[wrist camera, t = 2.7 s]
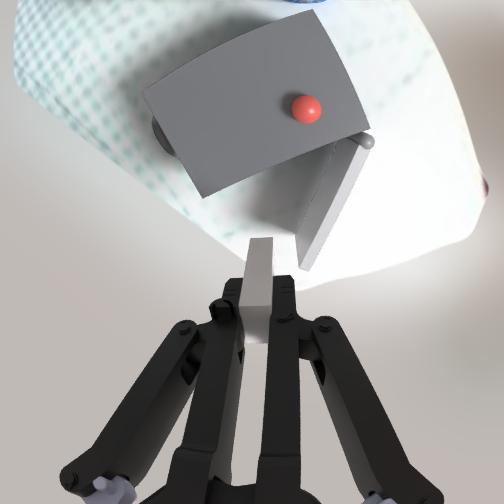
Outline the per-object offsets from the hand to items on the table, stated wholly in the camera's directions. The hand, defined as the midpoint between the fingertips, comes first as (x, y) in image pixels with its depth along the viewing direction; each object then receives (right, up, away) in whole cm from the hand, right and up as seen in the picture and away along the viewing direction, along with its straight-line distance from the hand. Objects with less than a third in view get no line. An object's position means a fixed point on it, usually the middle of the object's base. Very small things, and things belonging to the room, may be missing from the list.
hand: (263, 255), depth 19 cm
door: (+7, +7, +8) cm, 12 cm away
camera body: (0, +14, +4) cm, 15 cm away
